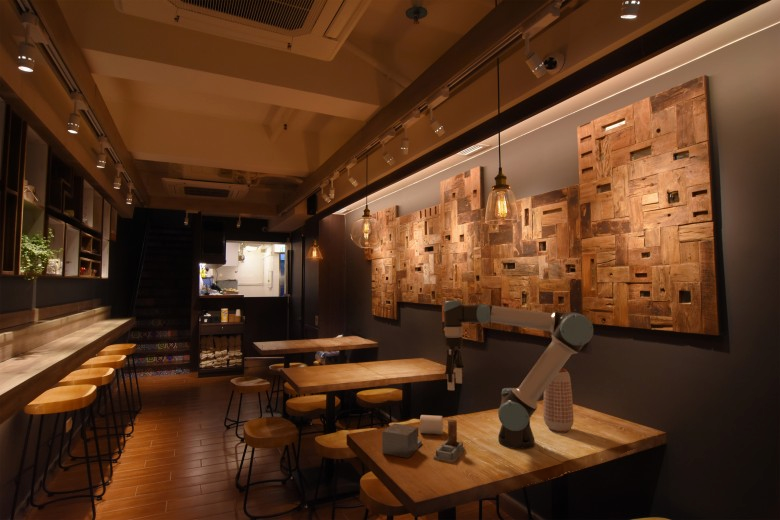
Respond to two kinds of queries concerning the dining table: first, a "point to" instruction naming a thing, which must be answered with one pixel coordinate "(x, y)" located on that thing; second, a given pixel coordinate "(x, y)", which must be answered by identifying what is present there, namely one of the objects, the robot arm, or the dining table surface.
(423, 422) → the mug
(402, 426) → the block
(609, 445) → the dining table surface
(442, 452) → the socket board
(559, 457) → the dining table surface
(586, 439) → the dining table surface
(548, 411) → the planter
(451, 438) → the peg
